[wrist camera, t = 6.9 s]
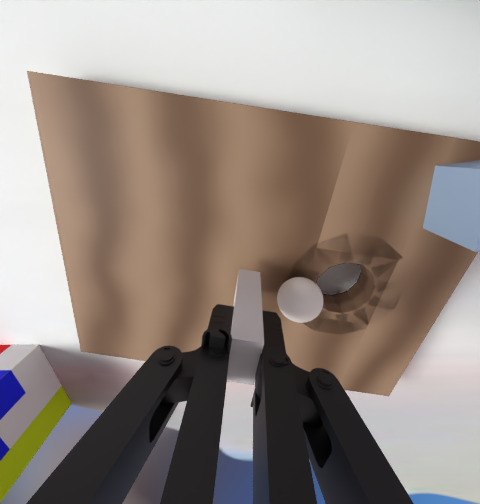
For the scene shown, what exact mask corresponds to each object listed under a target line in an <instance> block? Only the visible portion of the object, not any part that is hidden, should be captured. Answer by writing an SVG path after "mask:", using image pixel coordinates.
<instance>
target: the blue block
mask: <svg viewBox="0 0 480 504" xmlns="http://www.w3.org/2000/svg"><path fill="white" fill-rule="evenodd" d="M423 228H424V229H426V230H428V231H430V232H432V233H435V234H437V235H439V236H441V237H443V238H446V239H448V240H450V241H452V242H454V243H457V244H459V245H461V246H463V247H465V248H468V249H470V250H472V251H474V252H478V251H480V160H478V161H470V162H462V163H453V164H445V165H436V166H435V169H434V174H433V179H432V184H431V189H430V194H429V199H428V204H427V209H426V214H425V219H424V224H423Z"/></svg>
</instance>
